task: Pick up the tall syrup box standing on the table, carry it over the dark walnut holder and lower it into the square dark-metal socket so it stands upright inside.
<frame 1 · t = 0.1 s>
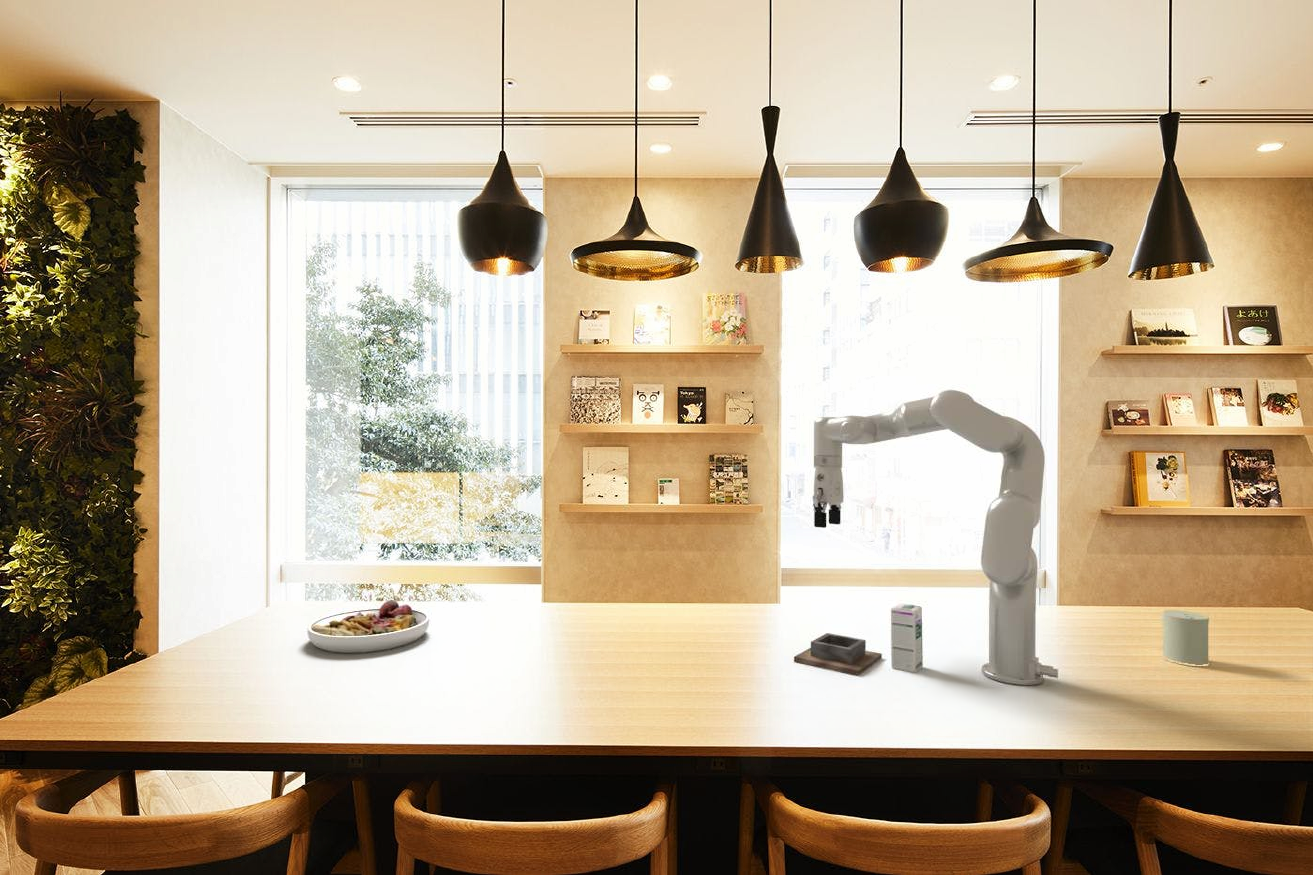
hand: (827, 525, 182), 31 cm above the table, tool pointing down, fingers open, 9 cm apart
can: (1185, 661, 167), on the table
holder: (838, 660, 165), on the table
syrup box: (906, 668, 160), on the table
bowl: (370, 640, 180), on the table
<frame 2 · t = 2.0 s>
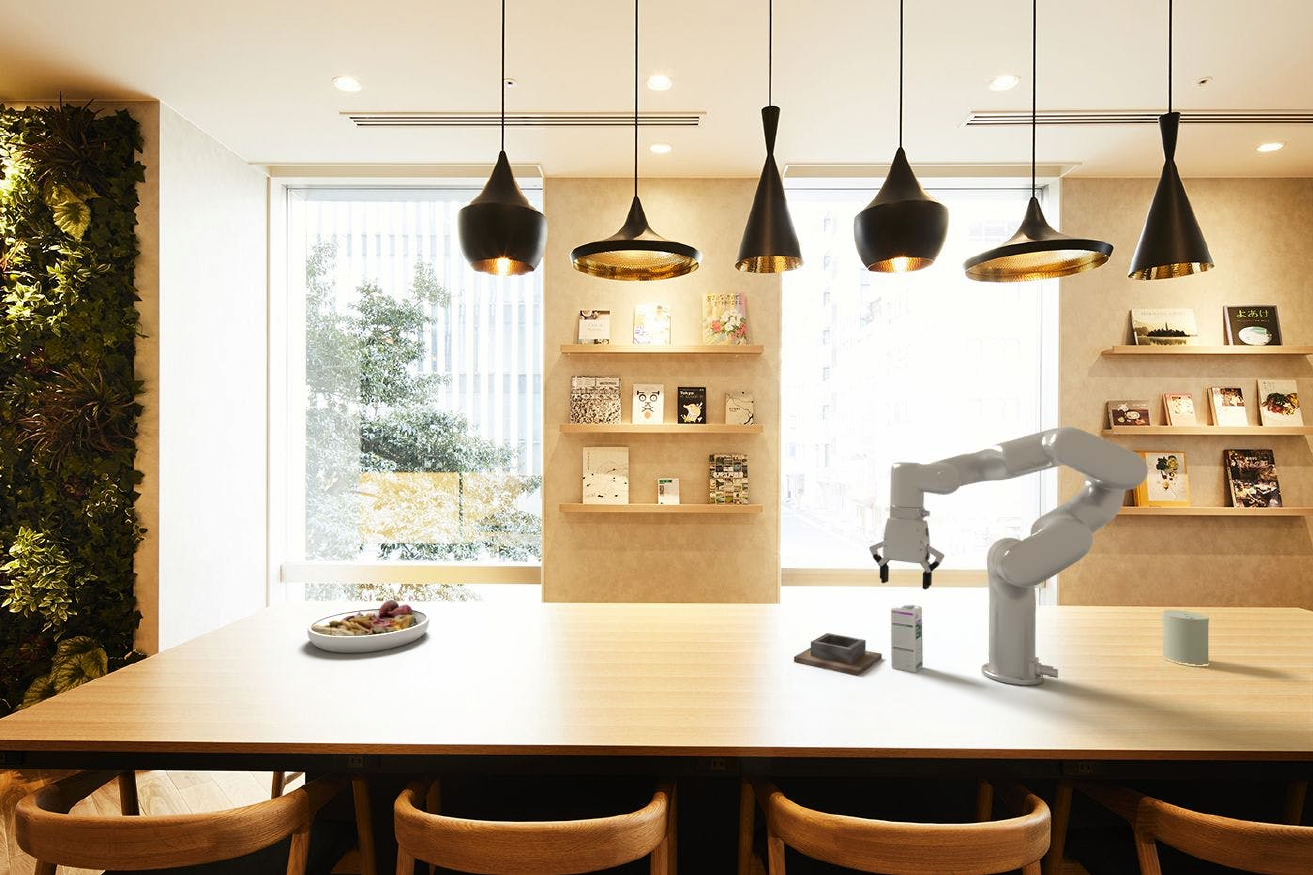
hand: (905, 585, 160), 20 cm above the table, tool pointing down, fingers open, 9 cm apart
nothing on the table moved.
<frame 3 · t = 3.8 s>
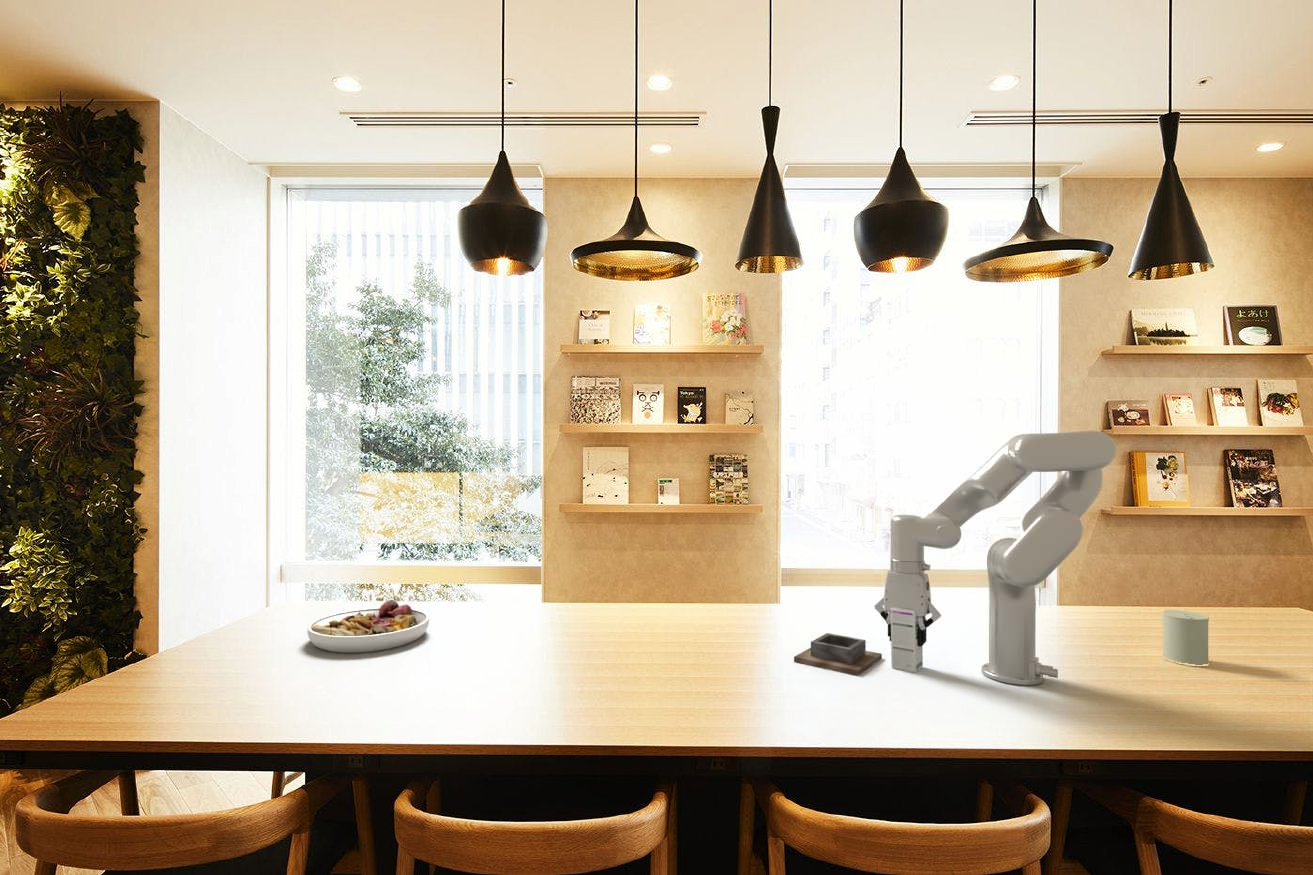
hand: (906, 641, 160), 6 cm above the table, tool pointing down, fingers closed on syrup box, 5 cm apart
syrup box: (906, 668, 160), on the table, touching gripper
everything else where it was.
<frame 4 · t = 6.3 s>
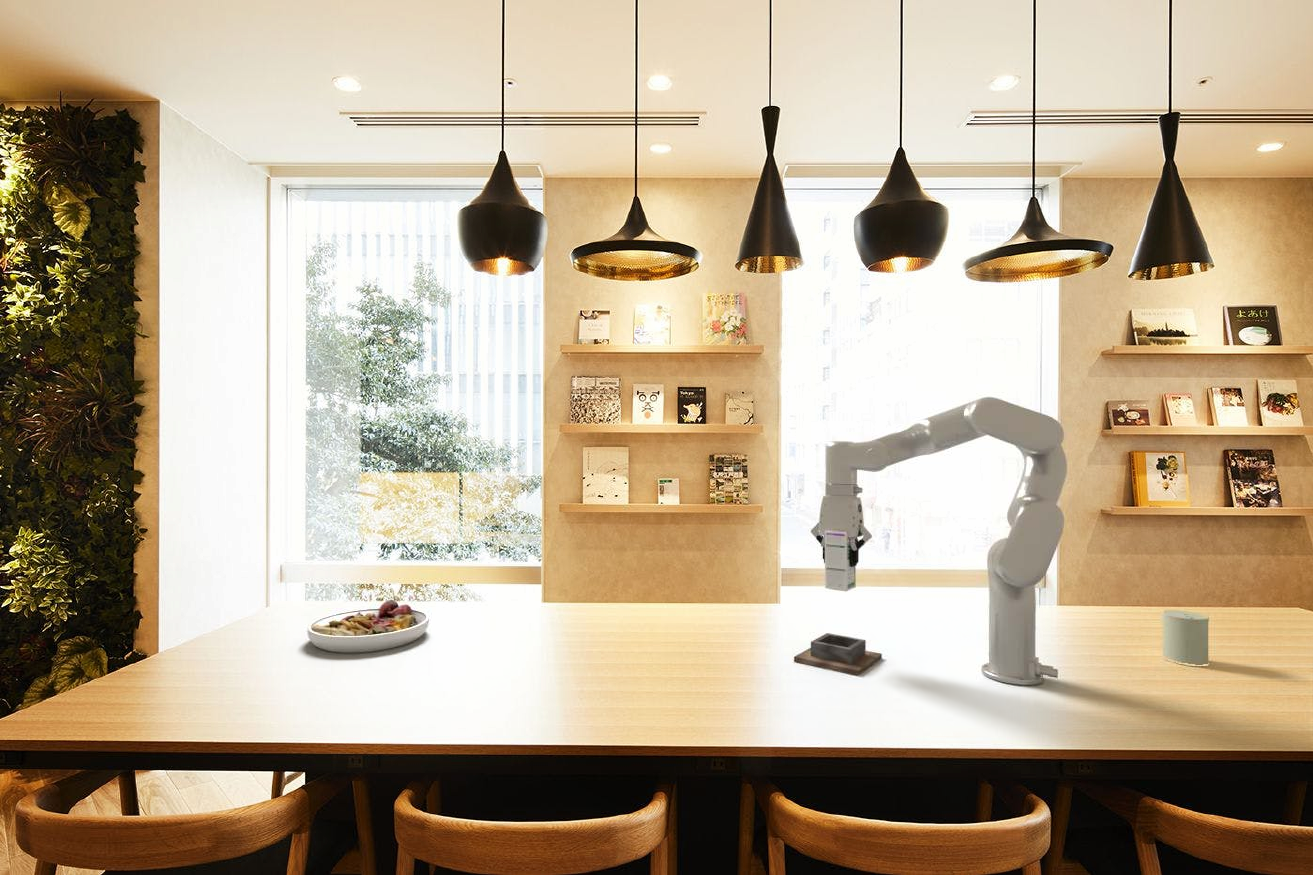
hand: (840, 563, 165), 24 cm above the table, tool pointing down, fingers closed on syrup box, 5 cm apart
syrup box: (839, 589, 165), point 17 cm above the table, touching gripper
everything else where it was.
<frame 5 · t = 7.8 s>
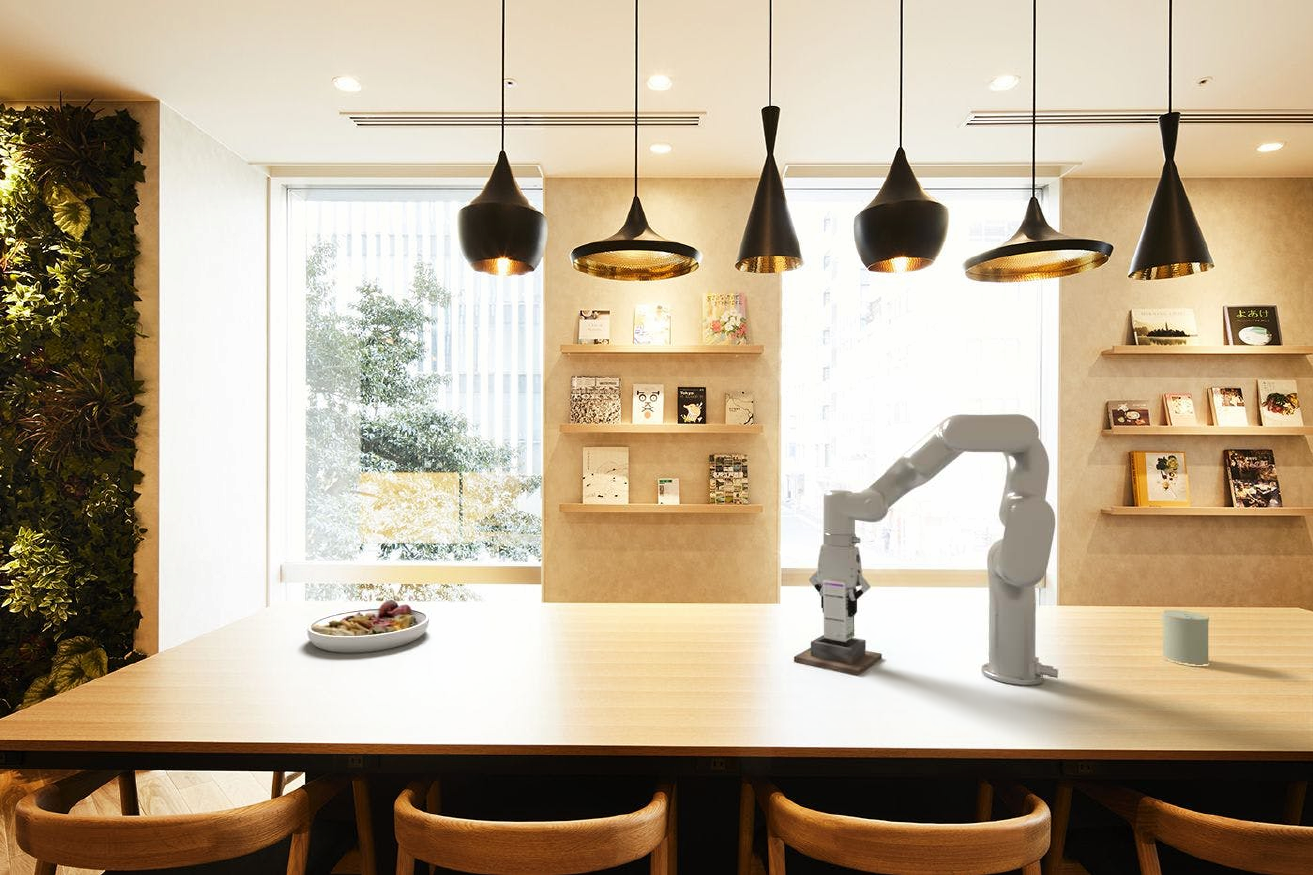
hand: (838, 613, 165), 12 cm above the table, tool pointing down, fingers closed on syrup box, 5 cm apart
syrup box: (838, 638, 165), point 5 cm above the table, touching gripper
everything else where it was.
when the fingers open (8 cm above the table, at t = 9.0 s): syrup box stays where it is, resting on holder.
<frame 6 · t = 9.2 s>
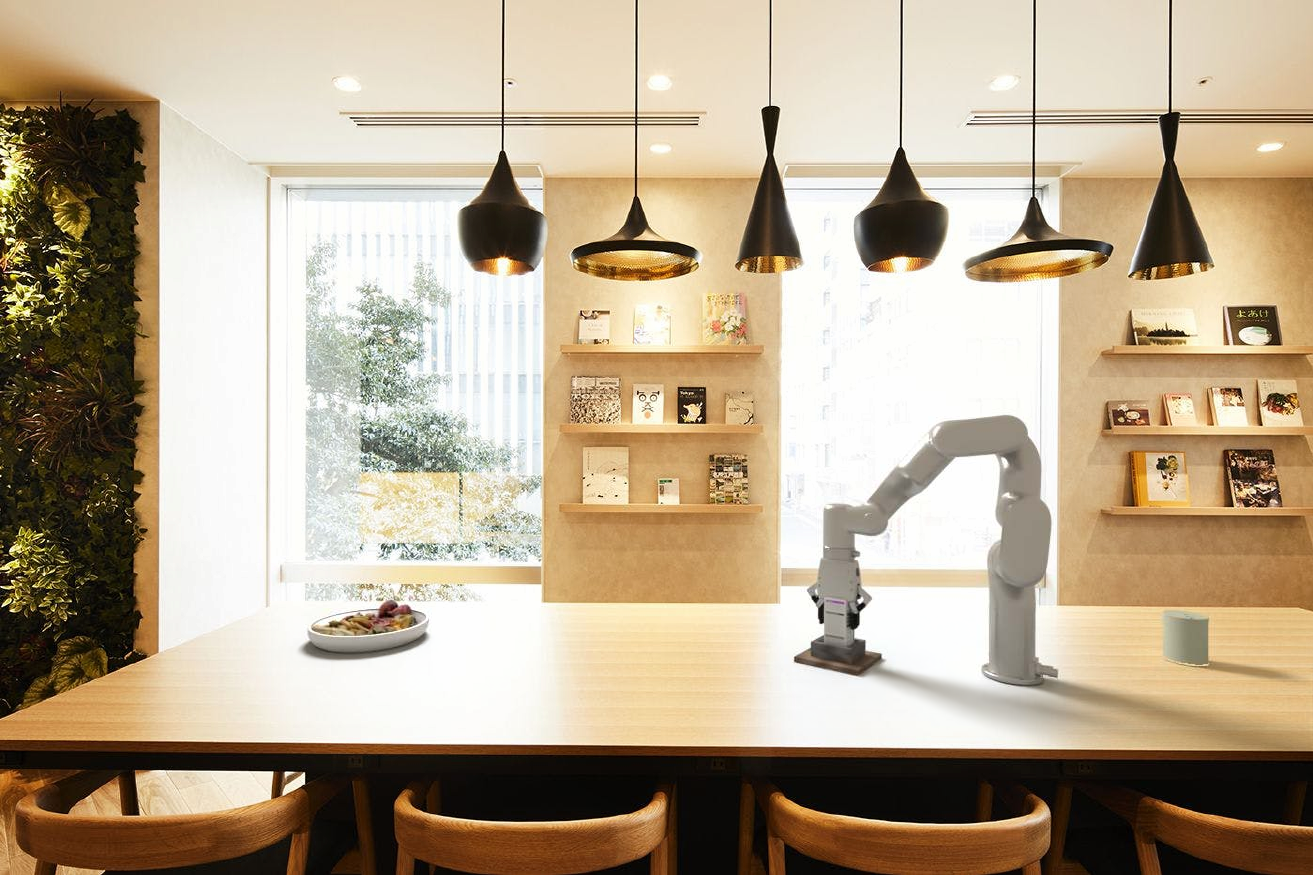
hand: (838, 625, 165), 9 cm above the table, tool pointing down, fingers open, 7 cm apart
syrup box: (838, 655, 165), point 1 cm above the table, touching holder
everything else where it was.
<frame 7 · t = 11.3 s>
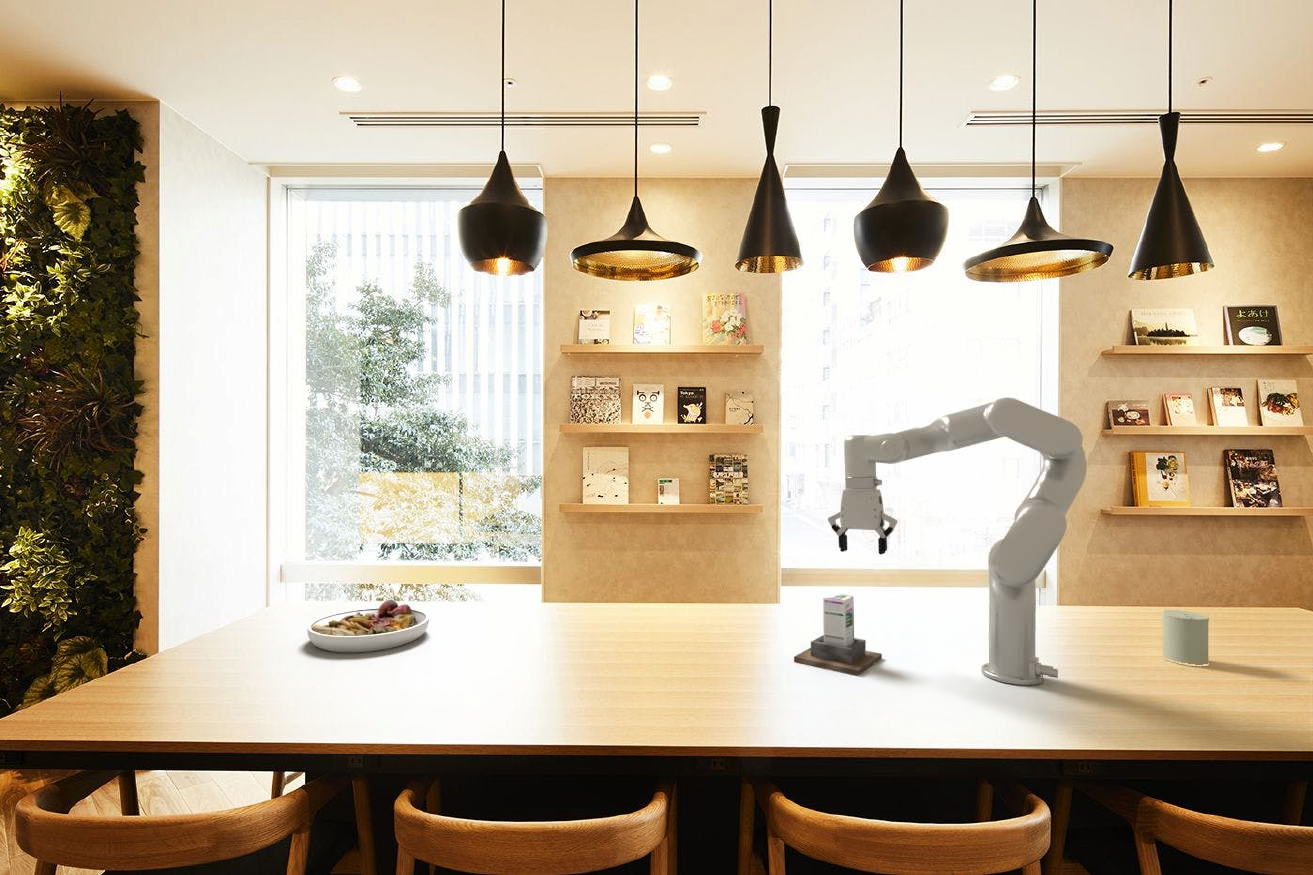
hand: (862, 552, 168), 26 cm above the table, tool pointing down, fingers open, 9 cm apart
nothing on the table moved.
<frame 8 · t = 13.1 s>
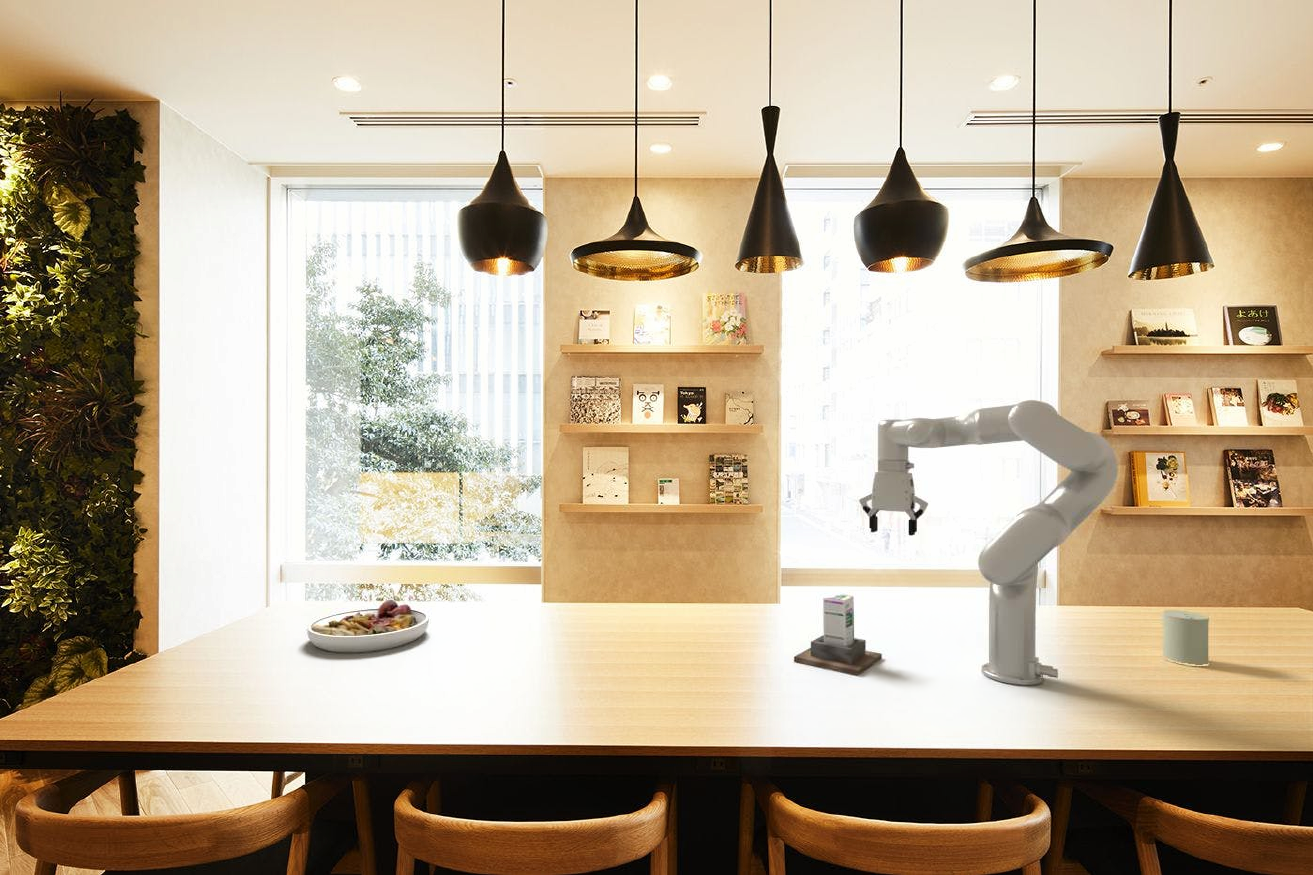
hand: (892, 533, 173), 30 cm above the table, tool pointing down, fingers open, 9 cm apart
nothing on the table moved.
at the end: syrup box 0.1 cm off-centre on the holder, point 1.0 cm above the holder's base; syrup box tilted 0°; the gripper is holding nothing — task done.
